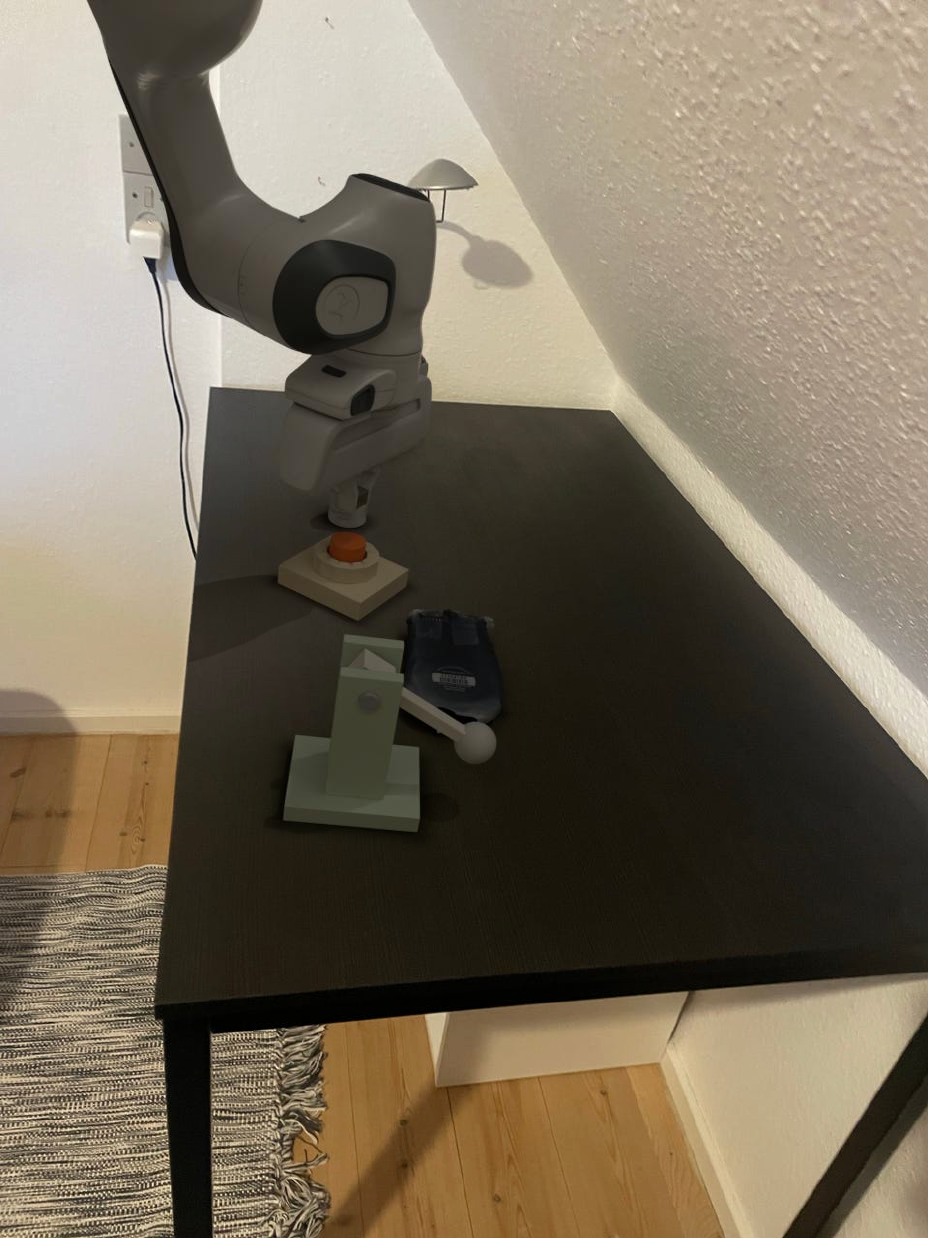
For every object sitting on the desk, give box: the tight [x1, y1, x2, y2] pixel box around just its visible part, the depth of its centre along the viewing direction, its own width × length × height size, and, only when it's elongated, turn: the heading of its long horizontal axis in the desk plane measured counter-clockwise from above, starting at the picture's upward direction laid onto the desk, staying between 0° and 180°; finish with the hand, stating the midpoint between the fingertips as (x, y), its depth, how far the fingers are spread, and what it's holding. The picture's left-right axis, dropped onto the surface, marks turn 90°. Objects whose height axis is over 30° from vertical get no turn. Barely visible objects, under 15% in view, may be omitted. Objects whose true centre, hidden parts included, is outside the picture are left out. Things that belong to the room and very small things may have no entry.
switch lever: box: [347, 649, 497, 765], centre depth 70 cm, size 13×3×3 cm
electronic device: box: [403, 608, 505, 734], centre depth 86 cm, size 9×6×15 cm
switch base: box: [282, 633, 421, 833], centre depth 70 cm, size 10×8×13 cm
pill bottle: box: [327, 486, 369, 529], centre depth 108 cm, size 4×4×8 cm
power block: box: [277, 534, 410, 622], centre depth 97 cm, size 10×9×4 cm
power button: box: [329, 531, 367, 563], centre depth 96 cm, size 4×4×2 cm
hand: (353, 505), depth 93 cm, fingers closed
